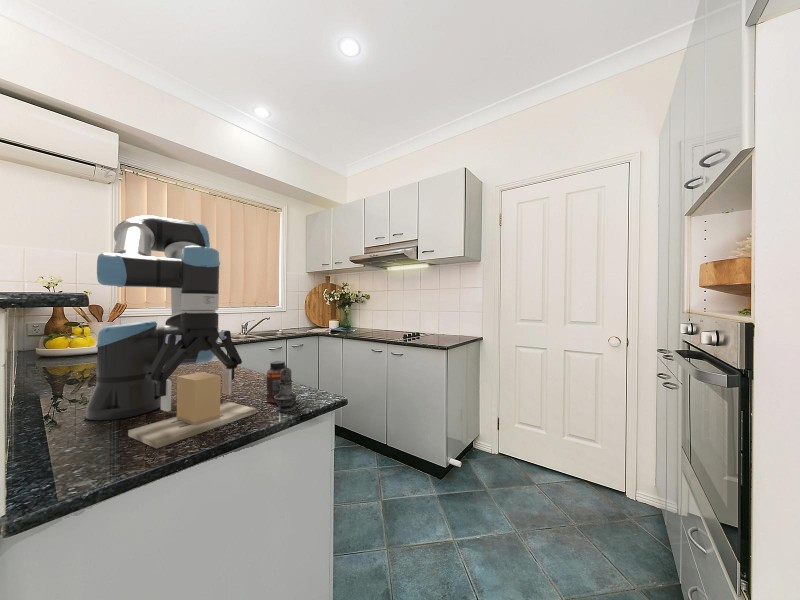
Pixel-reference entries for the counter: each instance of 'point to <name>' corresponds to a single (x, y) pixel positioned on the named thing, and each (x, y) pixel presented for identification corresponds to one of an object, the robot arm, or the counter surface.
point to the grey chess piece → (285, 392)
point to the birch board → (187, 426)
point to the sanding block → (198, 397)
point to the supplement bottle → (274, 380)
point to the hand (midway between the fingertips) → (198, 401)
